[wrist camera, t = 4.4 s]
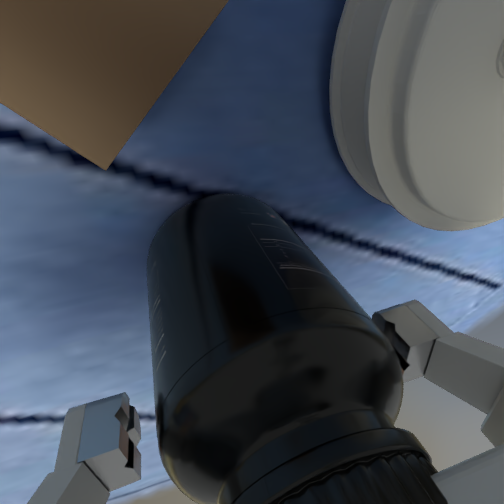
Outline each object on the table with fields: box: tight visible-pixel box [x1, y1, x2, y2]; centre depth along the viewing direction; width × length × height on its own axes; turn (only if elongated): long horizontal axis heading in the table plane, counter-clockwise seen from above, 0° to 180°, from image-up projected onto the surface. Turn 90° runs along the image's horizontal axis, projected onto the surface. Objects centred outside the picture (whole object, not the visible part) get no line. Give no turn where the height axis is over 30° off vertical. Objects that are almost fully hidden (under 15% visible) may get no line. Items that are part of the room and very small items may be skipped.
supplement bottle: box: [147, 194, 448, 504], centre depth 10 cm, size 7×7×12 cm
